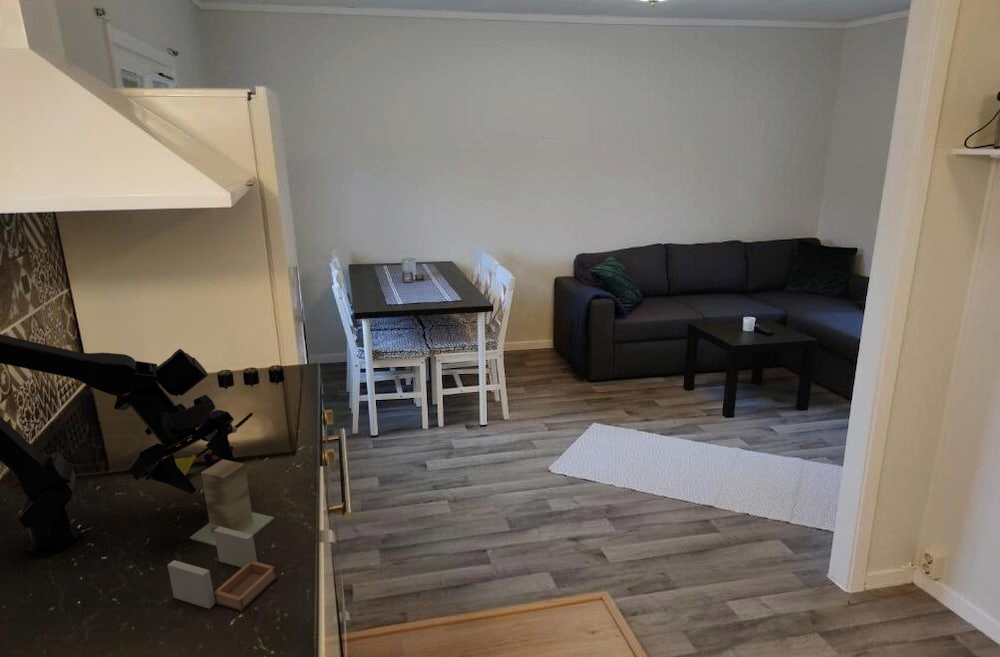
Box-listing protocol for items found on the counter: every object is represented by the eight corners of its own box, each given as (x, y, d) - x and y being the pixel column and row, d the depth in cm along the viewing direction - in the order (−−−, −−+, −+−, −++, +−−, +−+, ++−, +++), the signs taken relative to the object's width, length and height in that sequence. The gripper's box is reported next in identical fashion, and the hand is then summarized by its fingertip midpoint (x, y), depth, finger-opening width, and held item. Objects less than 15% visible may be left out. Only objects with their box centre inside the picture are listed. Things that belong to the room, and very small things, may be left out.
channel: (174, 597, 96) (167, 564, 95) (224, 556, 106) (219, 526, 104) (209, 608, 94) (203, 575, 92) (257, 566, 103) (252, 534, 101)
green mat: (189, 539, 110) (189, 537, 110) (231, 508, 119) (231, 507, 119) (234, 551, 107) (234, 549, 107) (274, 519, 116) (273, 517, 116)
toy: (274, 442, 135) (232, 389, 129) (194, 499, 129) (146, 446, 123) (268, 430, 142) (228, 379, 135) (192, 484, 136) (146, 433, 130)
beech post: (211, 532, 112) (200, 472, 108) (231, 516, 116) (222, 459, 113) (233, 538, 110) (223, 477, 106) (253, 522, 114) (244, 463, 111)
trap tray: (215, 603, 95) (213, 592, 94) (252, 570, 102) (250, 560, 102) (241, 611, 93) (239, 600, 93) (277, 577, 100) (275, 567, 100)
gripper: (129, 408, 100) (192, 482, 99) (219, 369, 116) (273, 433, 115) (104, 444, 105) (163, 515, 104) (193, 402, 121) (245, 463, 120)
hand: (215, 479), depth 111 cm, fingers open, 9 cm apart
